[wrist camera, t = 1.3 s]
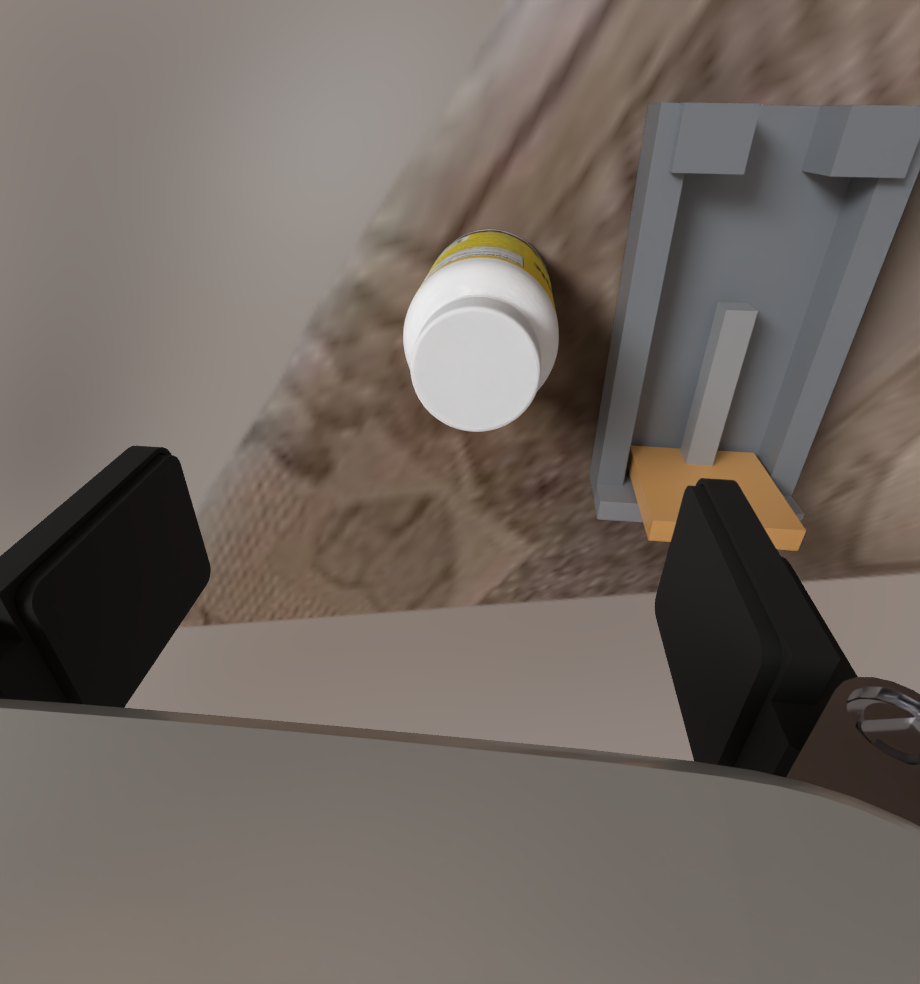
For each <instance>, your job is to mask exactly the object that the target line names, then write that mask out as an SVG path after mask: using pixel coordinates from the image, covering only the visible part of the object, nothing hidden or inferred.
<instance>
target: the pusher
mask: <svg viewBox="0 0 920 984" xmlns="http://www.w3.org/2000/svg"><path fill="white" fill-rule="evenodd" d="M757 313H758V311H757V310H756V309H755V308H754V307H752V306H751V305H750V304H749V303H737V302H718V303H717V307H716V311H715V315H714V319H713V323H712V327H711V331H710V335H709V339H708V343H707V347H706V351H705V355H704V359H703V363H702V367H701V371H700V375H699V378H698V382H697V386H696V390H695V394H694V398H693V402H692V406H691V410H690V414H689V418H688V422H687V426H686V430H685V434H684V438H683V442H682V446H681V448H665V447H647V446H630V451H629V456H628V461H627V467H628V471H629V474H630V478H631V481H632V485H633V488H634V492H635V495H636V499H637V502H638V506H639V509H640V513H641V516H642V520H643V523H644V527H645V530H646V534H647V537H648V540H650V541H664V542H671V539H672V535H673V532H674V528H675V524H676V520H677V517H678V513H679V509H680V506H681V502H682V498H683V494H684V491H685V489H686V487H687V486H696V483H697V482H698V480H699V479H701V478H708V479H726V480H735V481H736V482H737V483H738V484H739V486H740V488H741V490H742V491H743V493H744V495H745V496H746V498H747V500H748V501H749V503H750V505H751V507H752V508H753V510H754V512H755V513H756V515H757V517H758V519H759V520H760V522H761V524H762V525H763V527H764V529H765V530H766V532H767V534H768V536H769V537H770V539H771V541H772V542H773V544H774V546H775V548H776V549H778V550H793V551H798V549H799V547H800V544H801V542H802V540H803V537H804V535H805V533H806V529H805V528H804V526H803V525H802V523H801V522H800V520H799V519H798V517H797V516H796V515H795V513H794V512H793V510H792V509H791V507H790V506H789V504H788V503H787V501H786V500H785V498H784V497H783V495H782V494H781V492H780V491H779V489H778V488H777V486H776V485H775V483H774V482H773V480H772V479H771V477H770V476H769V474H768V473H767V471H766V470H765V468H764V467H763V465H762V464H761V462H760V461H759V459H758V458H757V457H756V455H755V454H754V453H751V452H734V451H717V449H718V446H719V442H720V439H721V435H722V432H723V429H724V425H725V422H726V418H727V415H728V412H729V408H730V405H731V401H732V398H733V395H734V391H735V388H736V384H737V381H738V377H739V374H740V371H741V367H742V364H743V360H744V357H745V354H746V350H747V347H748V343H749V340H750V337H751V333H752V330H753V326H754V323H755V319H756V316H757Z"/></svg>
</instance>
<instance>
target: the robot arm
mask: <svg viewBox="0 0 920 984" xmlns="http://www.w3.org/2000/svg"><path fill="white" fill-rule="evenodd" d="M209 578H210V563H209V560H208V556H207V553H206V549H205V546H204V542H203V539H202V536H201V532H200V529H199V525H198V522H197V518H196V515H195V512H194V508H193V505H192V501H191V498H190V495H189V491H188V488H187V484H186V481H185V477H184V474H183V471H182V467H181V464H180V462H179V460H178V458H177V457H175V456H172V455H171V453H170V452H169V451H168V449H166V448H163V447H146V446H131V447H130V448H128V449H127V450H125V451H124V452H123V453H122V454H121V455H120V456H118V457H117V458H116V459H115V460H114V461H112V462H111V463H110V464H109V465H108V466H107V467H105V468H104V469H103V470H102V471H101V472H99V473H98V474H97V475H96V476H95V477H93V478H92V479H91V480H90V481H89V482H88V483H87V484H85V485H84V486H83V487H82V488H81V489H79V490H78V491H77V492H76V493H75V494H73V495H72V496H71V497H70V498H69V499H67V501H65V502H64V503H63V504H62V505H60V506H59V507H58V508H57V509H56V510H54V512H52V513H51V514H50V515H49V516H47V518H45V519H44V520H43V521H41V522H40V523H39V524H38V525H37V526H36V527H35V528H33V529H32V530H31V531H30V532H28V533H27V534H26V535H25V536H24V537H23V538H21V539H20V540H19V541H18V542H17V543H15V544H14V545H13V546H12V547H11V548H10V549H8V550H7V551H6V552H5V553H4V554H3V555H1V556H0V984H920V694H918V693H917V692H915V691H914V690H911V689H909V688H906V687H904V686H902V685H899V684H897V683H895V682H892V681H887V680H883V679H879V678H874V677H857V675H856V674H855V672H854V670H853V668H852V667H851V665H850V663H849V662H848V660H847V658H846V657H845V655H844V653H843V652H842V650H841V648H840V647H839V645H838V643H837V641H836V640H835V638H834V637H833V635H832V633H831V632H830V630H829V628H828V626H827V625H826V623H825V621H824V620H823V618H822V617H821V615H820V613H819V611H818V610H817V608H816V606H815V605H814V603H813V601H812V600H811V598H810V596H809V595H808V593H807V591H806V590H805V588H804V586H803V585H802V583H801V581H800V580H799V578H798V576H797V574H796V573H795V571H794V569H793V568H792V566H791V565H790V563H789V562H788V561H787V560H786V559H785V558H783V557H781V556H780V554H779V553H778V551H777V549H776V548H775V546H774V544H773V542H772V541H771V539H770V537H769V536H768V534H767V532H766V530H765V529H764V527H763V525H762V524H761V522H760V520H759V519H758V517H757V515H756V513H755V512H754V510H753V508H752V507H751V505H750V503H749V501H748V500H747V498H746V496H745V495H744V493H743V491H742V490H741V488H740V486H739V484H738V483H737V482H736V481H735V480H726V479H708V478H701V479H699V480H698V482H697V483H696V486H687V487H686V489H685V491H684V494H683V498H682V502H681V506H680V509H679V513H678V517H677V520H676V524H675V528H674V532H673V535H672V539H671V543H670V546H669V550H668V554H667V557H666V561H665V565H664V569H663V572H662V576H661V580H660V583H659V587H658V591H657V595H656V599H655V614H656V619H657V623H658V627H659V631H660V634H661V638H662V641H663V646H664V649H665V653H666V657H667V661H668V664H669V668H670V672H671V675H672V679H673V683H674V687H675V691H676V694H677V698H678V702H679V705H680V709H681V713H682V717H683V721H684V724H685V728H686V732H687V736H688V739H689V743H690V747H691V751H692V754H693V758H694V761H686V760H676V759H667V758H659V757H649V756H640V755H632V754H622V753H613V752H604V751H595V750H587V749H576V748H565V747H555V746H544V745H534V744H523V743H513V742H502V741H492V740H481V739H471V738H459V737H448V736H439V735H428V734H417V733H407V732H395V731H384V730H373V729H362V728H351V727H339V726H329V725H318V724H306V723H295V722H284V721H272V720H261V719H250V718H238V717H226V716H215V715H203V714H191V713H179V712H168V711H156V710H144V709H131V708H124V707H125V705H126V704H127V702H128V701H129V699H130V698H131V696H132V695H133V694H134V692H135V691H136V689H137V688H138V686H139V685H140V683H141V682H142V680H143V679H144V677H145V676H146V674H147V673H148V671H149V670H150V668H151V667H152V665H153V664H154V662H155V661H156V659H157V658H158V656H159V655H160V653H161V652H162V650H163V649H164V647H165V646H166V644H167V643H168V641H169V640H170V638H171V637H172V635H173V634H174V632H175V631H176V630H177V628H178V627H179V625H180V624H181V622H182V621H183V619H184V618H185V616H186V615H187V613H188V612H189V610H190V609H191V607H192V606H193V604H194V603H195V601H196V600H197V598H198V597H199V595H200V594H201V592H202V591H203V589H204V588H205V586H206V585H207V583H208V581H209Z"/></svg>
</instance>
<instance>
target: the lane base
mask: <svg viewBox="0 0 920 984" xmlns="http://www.w3.org/2000/svg"><path fill="white" fill-rule="evenodd" d="M919 170H920V106H885V105H839V106H774V105H761V104H745V103H654V104H648V110H647V116H646V123H645V129H644V135H643V142H642V148H641V154H640V160H639V167H638V173H637V179H636V185H635V192H634V198H633V204H632V211H631V217H630V223H629V229H628V236H627V242H626V248H625V254H624V261H623V267H622V273H621V280H620V286H619V292H618V298H617V305H616V311H615V317H614V323H613V330H612V336H611V342H610V349H609V355H608V361H607V367H606V374H605V380H604V386H603V392H602V399H601V405H600V411H599V418H598V424H597V430H596V436H595V443H594V449H593V455H592V461H591V468H590V474H589V475H590V481H591V487H592V492H593V498H594V504H595V510H596V516H597V519H601V520H616V521H631V522H643V520H642V516H641V513H640V509H639V506H638V502H637V499H636V495H635V492H634V488H633V485H632V481H631V478H630V474H629V471H628V467H627V461H628V456H629V451H630V446H647V447H665V448H681V446H682V442H683V438H684V434H685V430H686V426H687V422H688V418H689V414H690V410H691V406H692V402H693V398H694V394H695V390H696V386H697V382H698V378H699V375H700V371H701V367H702V363H703V359H704V355H705V351H706V347H707V343H708V339H709V335H710V331H711V327H712V323H713V319H714V315H715V311H716V307H717V303H718V302H737V303H749V304H750V305H751V306H752V307H754V308H755V309H756V310H757V311H758V313H757V316H756V319H755V323H754V326H753V330H752V333H751V337H750V340H749V343H748V347H747V350H746V354H745V357H744V360H743V364H742V367H741V371H740V374H739V377H738V381H737V384H736V388H735V391H734V395H733V398H732V401H731V405H730V408H729V412H728V415H727V418H726V422H725V425H724V429H723V432H722V435H721V439H720V442H719V446H718V449H717V451H734V452H751V453H754V454H755V455H756V457H757V458H758V459H759V461H760V462H761V464H762V465H763V467H764V468H765V470H766V471H767V473H768V474H769V476H770V477H771V479H772V480H773V482H774V483H775V485H776V486H777V488H778V489H779V491H780V492H781V494H782V495H783V497H784V498H785V500H786V501H787V503H788V504H789V506H790V507H791V509H792V510H793V512H794V513H795V515H796V516H797V517H798V519H799V520H800V522H802V520H803V517H804V513H803V512H802V510H801V509H800V507H799V506H798V505H797V503H796V502H795V500H794V499H793V497H792V494H793V491H794V489H795V486H796V484H797V481H798V478H799V476H800V473H801V471H802V468H803V466H804V463H805V461H806V458H807V456H808V453H809V450H810V448H811V445H812V443H813V440H814V438H815V435H816V433H817V430H818V427H819V425H820V422H821V420H822V417H823V415H824V412H825V410H826V407H827V405H828V402H829V399H830V397H831V394H832V392H833V389H834V387H835V384H836V382H837V379H838V377H839V374H840V371H841V369H842V366H843V364H844V361H845V359H846V356H847V354H848V351H849V349H850V346H851V343H852V341H853V338H854V336H855V333H856V331H857V328H858V326H859V323H860V321H861V318H862V315H863V313H864V310H865V308H866V305H867V303H868V300H869V298H870V295H871V293H872V290H873V287H874V285H875V282H876V280H877V277H878V275H879V272H880V270H881V267H882V265H883V262H884V259H885V257H886V254H887V252H888V249H889V247H890V244H891V242H892V239H893V237H894V234H895V231H896V229H897V226H898V224H899V221H900V219H901V216H902V214H903V211H904V209H905V206H906V203H907V201H908V198H909V196H910V193H911V191H912V188H913V186H914V183H915V181H916V178H917V175H918V173H919Z"/></svg>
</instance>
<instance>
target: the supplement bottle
mask: <svg viewBox="0 0 920 984" xmlns="http://www.w3.org/2000/svg"><path fill="white" fill-rule="evenodd" d="M403 343H404V351H405V355H406V359H407V362H408V365H409V368H410V371H411V378H412V383H413V386H414V389H415V392H416V394H417V396H418V398H419V399H420V401H421V403H422V404H423V405H424V407H425V408H426V409H427V410H428V411H429V412H430V413H431V414H432V415H433V416H434V417H436V418H437V419H438V420H440V421H441V422H443V423H445V424H446V425H449V426H451V427H454V428H457V429H460V430H464V431H473V432H481V431H490V430H494V429H497V428H500V427H502V426H505V425H507V424H509V423H511V422H512V421H514V420H515V419H517V418H518V417H519V416H520V415H521V414H522V413H523V412H524V411H525V410H526V409H527V408H528V407H529V405H530V404H531V402H532V401H533V399H534V397H535V395H536V393H537V391H538V390H539V389H540V388H541V386H542V385H543V384H544V382H545V381H546V379H547V378H548V376H549V374H550V372H551V370H552V368H553V366H554V363H555V360H556V356H557V352H558V343H559V328H558V320H557V314H556V310H555V304H554V298H553V294H552V288H551V282H550V278H549V275H548V272H547V269H546V267H545V265H544V263H543V261H542V259H541V257H540V256H539V254H538V253H537V252H536V251H535V250H534V248H533V247H532V246H531V245H529V244H528V243H527V242H526V241H524V240H523V239H521V238H520V237H518V236H516V235H513V234H511V233H508V232H505V231H500V230H479V231H475V232H471V233H468V234H466V235H464V236H461V237H460V238H458V239H456V240H455V241H454V242H452V243H451V244H450V245H449V246H448V247H447V248H446V249H445V250H444V251H443V252H442V253H441V254H440V256H439V257H438V258H437V260H436V261H435V263H434V265H433V266H432V268H431V270H430V271H429V273H428V275H427V276H426V278H425V280H424V282H423V283H422V285H421V286H420V288H419V290H418V291H417V293H416V294H415V296H414V298H413V300H412V302H411V304H410V307H409V309H408V312H407V316H406V319H405V324H404V333H403Z"/></svg>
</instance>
